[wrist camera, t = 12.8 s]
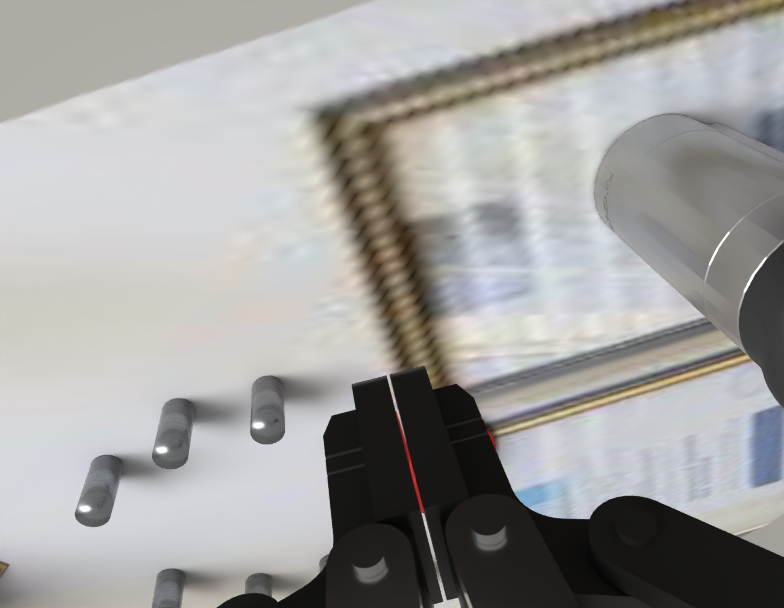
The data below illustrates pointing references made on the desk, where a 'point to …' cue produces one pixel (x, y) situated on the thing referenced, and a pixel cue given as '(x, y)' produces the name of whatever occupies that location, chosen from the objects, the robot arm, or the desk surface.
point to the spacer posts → (172, 455)
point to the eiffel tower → (2, 567)
